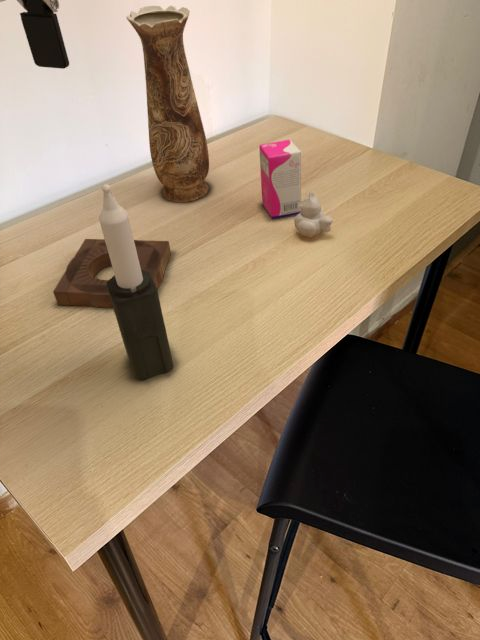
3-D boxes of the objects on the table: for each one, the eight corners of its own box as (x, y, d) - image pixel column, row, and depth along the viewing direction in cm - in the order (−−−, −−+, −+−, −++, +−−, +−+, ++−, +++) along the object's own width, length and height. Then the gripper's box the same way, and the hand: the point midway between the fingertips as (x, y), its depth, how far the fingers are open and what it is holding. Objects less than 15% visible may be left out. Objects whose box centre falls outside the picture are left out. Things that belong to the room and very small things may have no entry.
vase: (217, 180, 105) (200, 3, 84) (204, 207, 98) (181, 20, 77) (167, 177, 107) (138, 3, 86) (150, 203, 99) (113, 20, 78)
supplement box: (290, 199, 99) (291, 138, 91) (301, 214, 95) (302, 152, 87) (261, 204, 98) (258, 143, 90) (270, 220, 94) (269, 157, 86)
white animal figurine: (301, 222, 93) (301, 179, 87) (336, 230, 91) (340, 186, 85) (288, 238, 89) (288, 194, 84) (325, 246, 87) (328, 202, 82)
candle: (137, 382, 67) (83, 202, 49) (127, 357, 70) (74, 179, 53) (175, 370, 68) (137, 189, 51) (164, 345, 71) (124, 168, 54)
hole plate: (55, 305, 78) (50, 292, 77) (88, 250, 89) (84, 237, 87) (151, 309, 77) (147, 296, 75) (172, 253, 87) (170, 240, 86)
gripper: (-35, -216, 38) (43, 51, 50) (-284, -233, 26) (-104, 121, 38) (54, -224, 36) (113, 56, 48) (-172, -246, 24) (-19, 132, 36)
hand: (17, 85), depth 43 cm, fingers open, 9 cm apart
